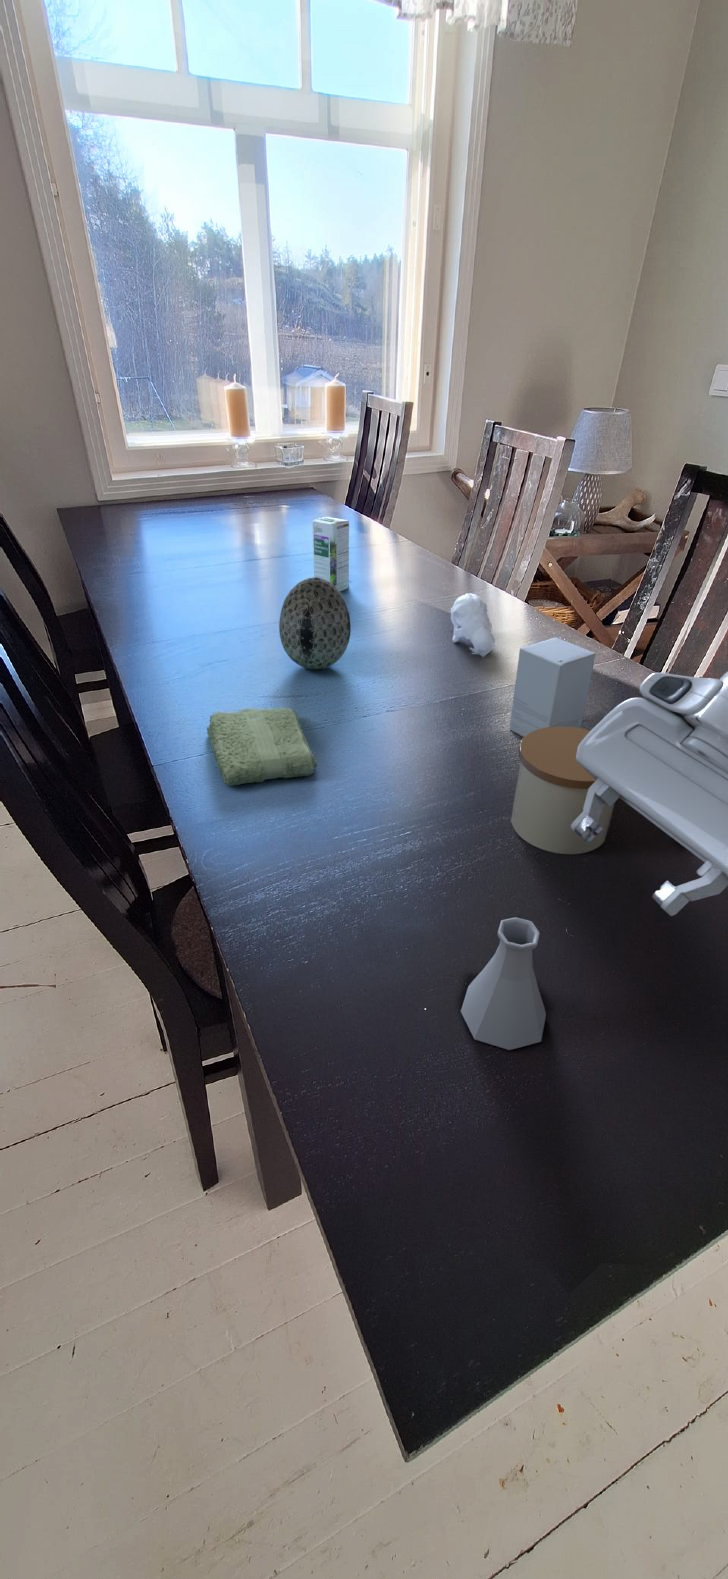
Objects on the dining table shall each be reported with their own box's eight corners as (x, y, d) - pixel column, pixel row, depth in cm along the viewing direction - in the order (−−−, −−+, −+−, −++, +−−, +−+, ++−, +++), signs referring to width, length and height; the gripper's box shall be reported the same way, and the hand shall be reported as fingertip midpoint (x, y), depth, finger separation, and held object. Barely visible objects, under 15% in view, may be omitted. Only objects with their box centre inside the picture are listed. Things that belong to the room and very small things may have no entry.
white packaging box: (581, 736, 99) (598, 653, 92) (544, 750, 95) (560, 665, 88) (542, 715, 104) (556, 635, 97) (506, 728, 100) (518, 646, 93)
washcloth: (294, 716, 103) (293, 696, 101) (321, 779, 89) (320, 757, 87) (205, 727, 100) (202, 707, 98) (218, 794, 86) (215, 772, 84)
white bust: (483, 588, 125) (510, 617, 116) (476, 631, 131) (502, 662, 122) (450, 590, 124) (475, 620, 115) (445, 634, 129) (468, 665, 121)
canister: (593, 796, 86) (610, 726, 81) (622, 856, 77) (644, 781, 71) (500, 796, 86) (511, 725, 80) (518, 855, 77) (531, 780, 71)
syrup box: (313, 589, 151) (310, 520, 143) (329, 583, 155) (328, 514, 147) (333, 595, 148) (333, 524, 140) (350, 587, 152) (350, 518, 144)
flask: (457, 980, 62) (467, 897, 56) (537, 982, 62) (556, 900, 56) (464, 1050, 56) (476, 966, 50) (553, 1053, 56) (576, 969, 50)
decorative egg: (293, 650, 123) (288, 565, 115) (357, 656, 121) (357, 570, 113) (272, 677, 114) (266, 587, 105) (341, 684, 112) (341, 593, 103)
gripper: (886, 830, 47) (735, 973, 49) (663, 703, 62) (556, 816, 64) (871, 790, 43) (708, 948, 45) (636, 664, 58) (523, 786, 60)
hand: (617, 869), depth 55 cm, fingers open, 8 cm apart
